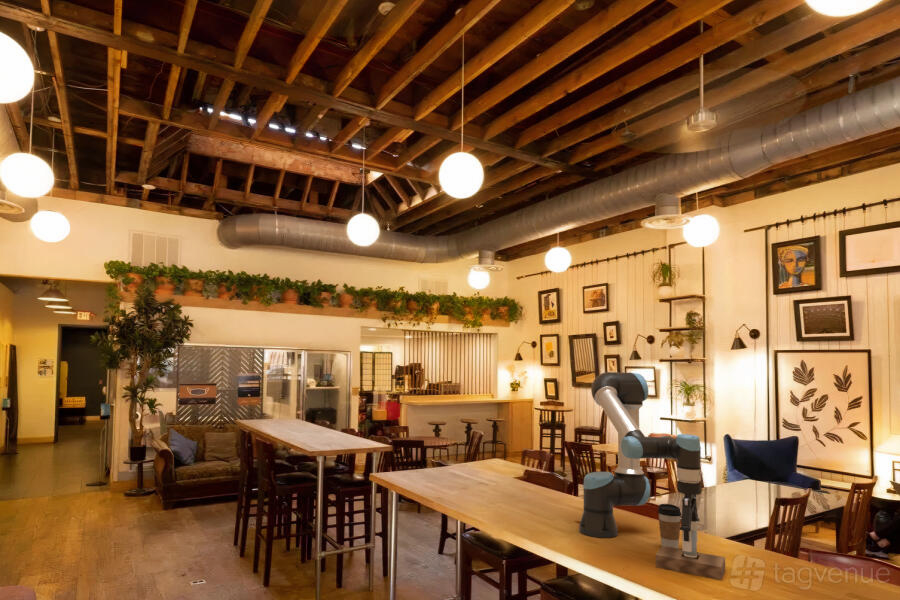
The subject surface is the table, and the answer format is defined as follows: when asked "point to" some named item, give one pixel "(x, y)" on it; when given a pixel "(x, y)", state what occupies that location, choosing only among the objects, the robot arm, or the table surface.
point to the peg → (694, 547)
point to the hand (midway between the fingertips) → (690, 546)
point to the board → (691, 563)
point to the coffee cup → (669, 525)
